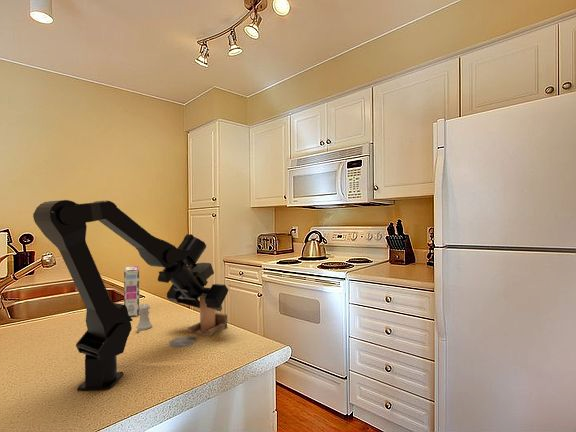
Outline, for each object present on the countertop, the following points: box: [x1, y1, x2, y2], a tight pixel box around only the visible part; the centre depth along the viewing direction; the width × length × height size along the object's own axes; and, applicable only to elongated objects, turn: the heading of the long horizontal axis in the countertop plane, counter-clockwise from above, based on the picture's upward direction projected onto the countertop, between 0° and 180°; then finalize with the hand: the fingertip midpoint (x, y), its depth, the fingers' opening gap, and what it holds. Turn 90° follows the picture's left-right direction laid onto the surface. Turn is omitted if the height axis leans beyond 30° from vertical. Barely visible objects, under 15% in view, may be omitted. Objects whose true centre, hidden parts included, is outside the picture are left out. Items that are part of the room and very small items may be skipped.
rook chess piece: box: [136, 303, 153, 334], centre depth 99 cm, size 4×4×8 cm
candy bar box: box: [123, 266, 140, 318], centre depth 118 cm, size 11×5×16 cm, turn 25°
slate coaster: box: [169, 335, 198, 348], centre depth 87 cm, size 7×7×1 cm
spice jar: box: [199, 296, 216, 333], centre depth 96 cm, size 5×5×11 cm
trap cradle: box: [187, 312, 228, 338], centre depth 96 cm, size 8×8×5 cm
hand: (210, 308), depth 97 cm, fingers open, 7 cm apart
